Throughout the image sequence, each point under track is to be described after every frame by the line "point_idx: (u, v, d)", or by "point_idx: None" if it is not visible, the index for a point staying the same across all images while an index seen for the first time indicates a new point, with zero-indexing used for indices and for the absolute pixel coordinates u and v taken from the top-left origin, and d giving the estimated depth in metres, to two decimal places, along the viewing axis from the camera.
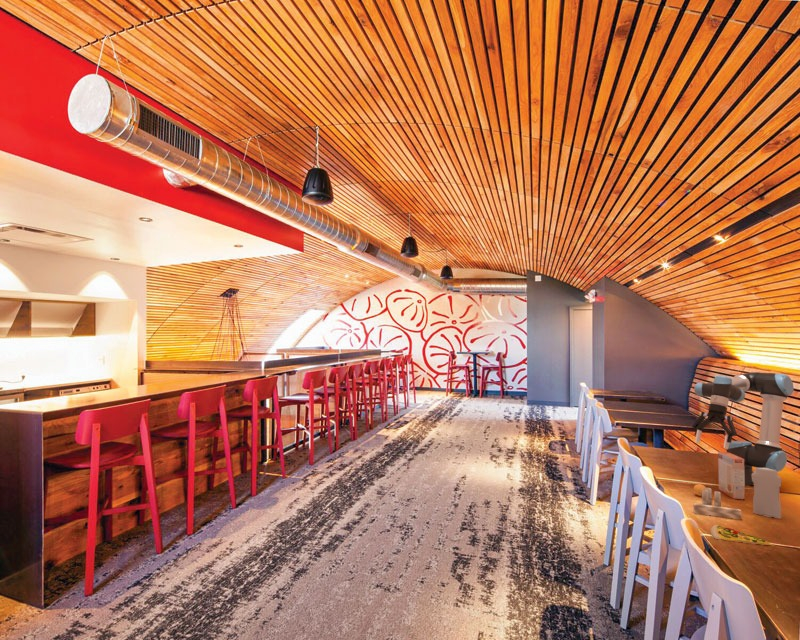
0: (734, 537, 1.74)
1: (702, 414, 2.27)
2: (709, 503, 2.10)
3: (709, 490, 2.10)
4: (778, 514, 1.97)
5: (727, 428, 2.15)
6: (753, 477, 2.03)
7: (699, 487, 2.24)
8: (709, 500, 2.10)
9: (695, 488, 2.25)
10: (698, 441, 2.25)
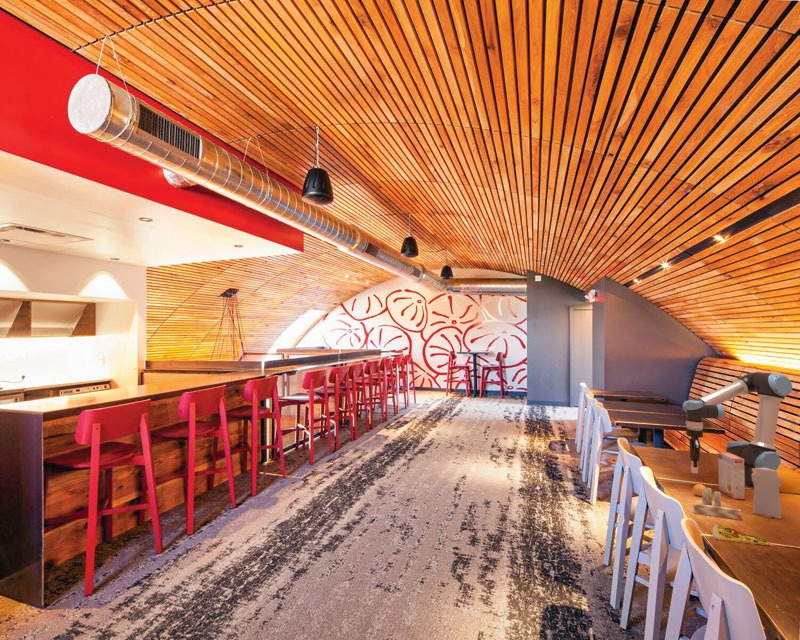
0: (735, 537, 1.73)
1: (689, 441, 2.40)
2: (709, 503, 2.10)
3: (709, 490, 2.10)
4: (778, 514, 1.97)
5: None
6: (753, 477, 2.03)
7: (699, 487, 2.24)
8: (709, 500, 2.10)
9: (695, 488, 2.25)
10: None
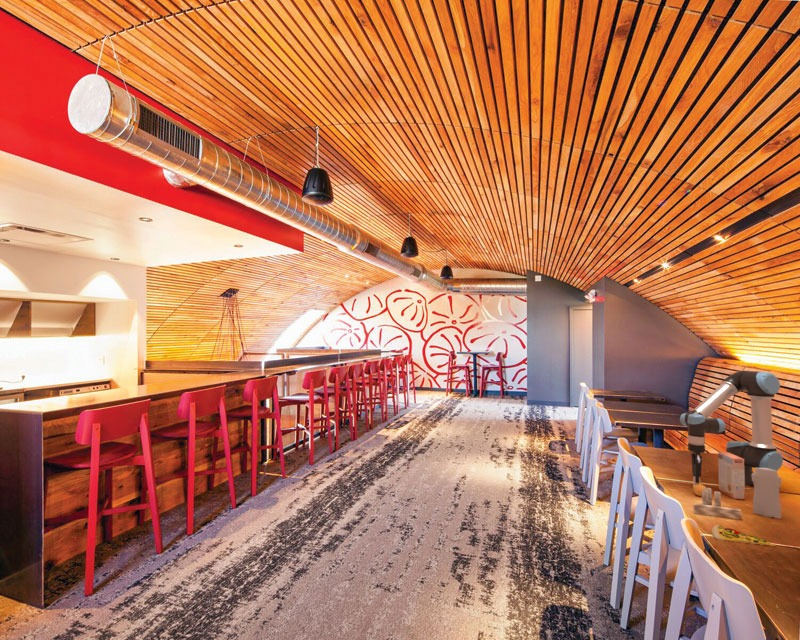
0: (735, 537, 1.73)
1: (691, 456, 2.35)
2: (709, 503, 2.10)
3: (709, 490, 2.10)
4: (778, 514, 1.97)
5: None
6: (753, 477, 2.03)
7: (699, 487, 2.24)
8: (709, 500, 2.10)
9: (695, 488, 2.25)
10: None
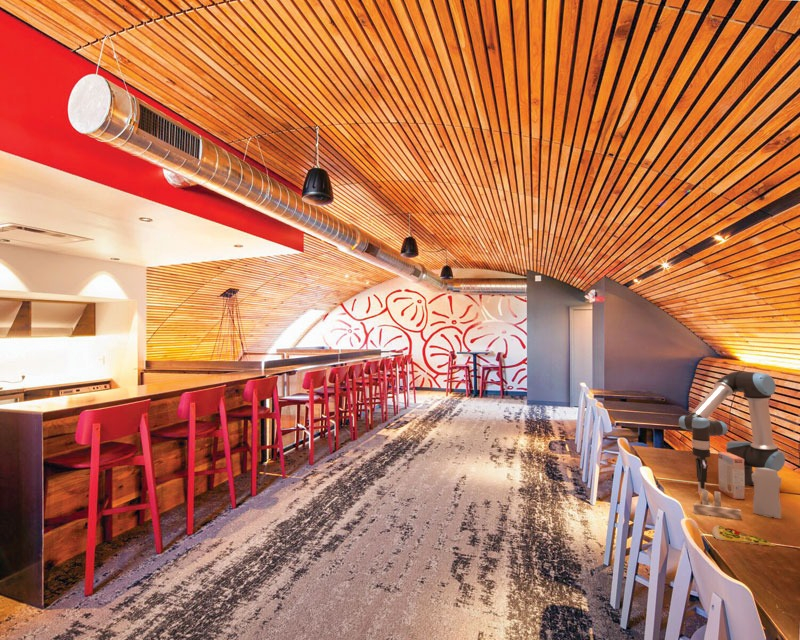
0: (736, 537, 1.73)
1: (696, 461, 2.28)
2: None
3: None
4: (778, 514, 1.97)
5: None
6: (753, 477, 2.03)
7: None
8: None
9: None
10: None
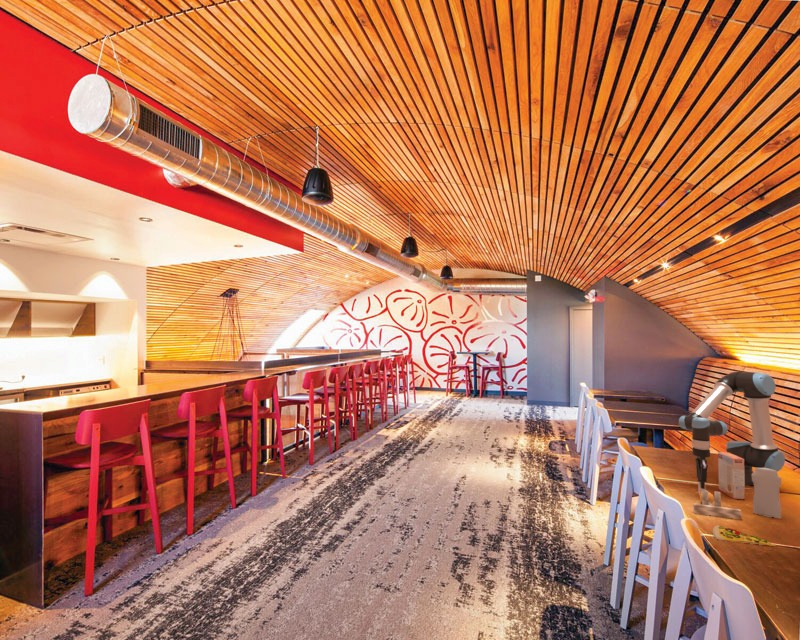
0: (736, 538, 1.73)
1: (696, 461, 2.28)
2: None
3: None
4: (778, 514, 1.97)
5: None
6: (753, 477, 2.03)
7: None
8: None
9: None
10: None
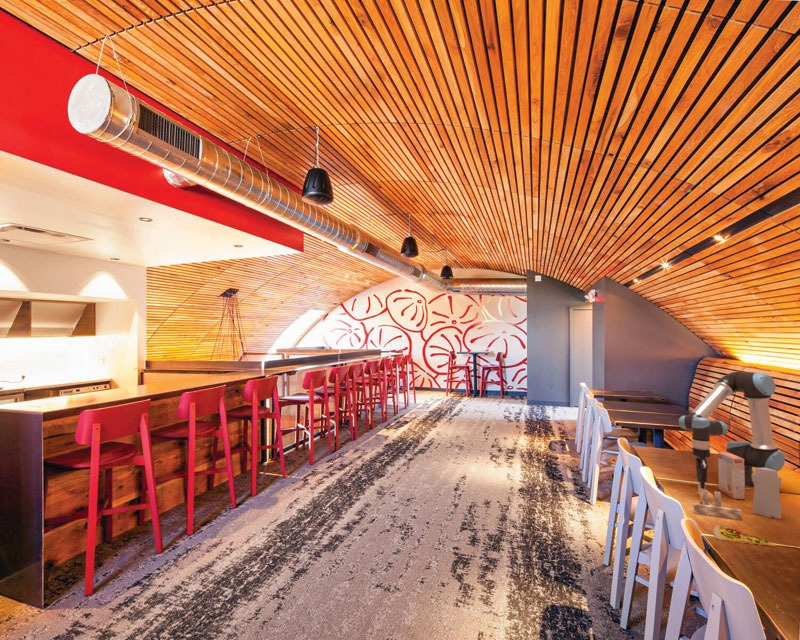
0: (737, 538, 1.73)
1: (696, 461, 2.28)
2: None
3: None
4: (778, 514, 1.97)
5: None
6: (753, 477, 2.03)
7: None
8: None
9: None
10: None
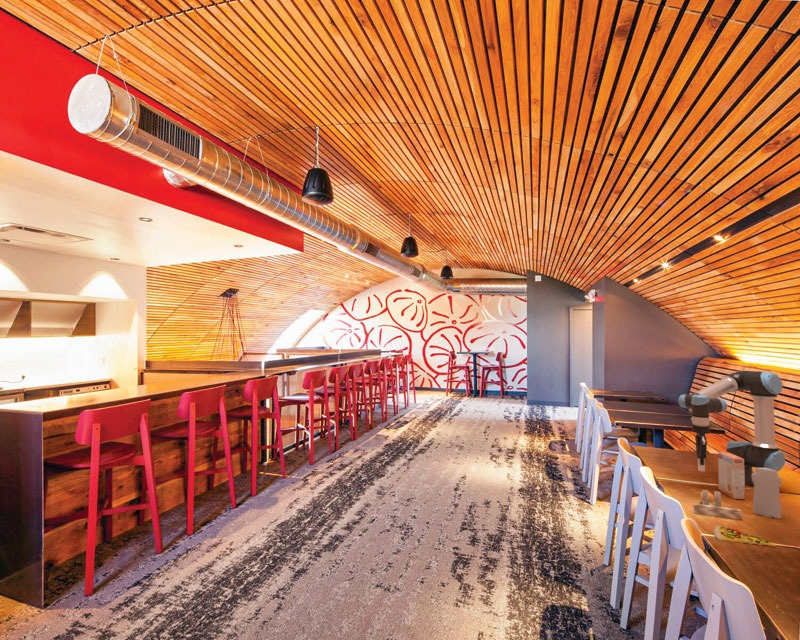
0: (737, 538, 1.73)
1: (695, 438, 2.29)
2: None
3: None
4: (778, 514, 1.97)
5: None
6: (753, 477, 2.03)
7: None
8: None
9: None
10: None
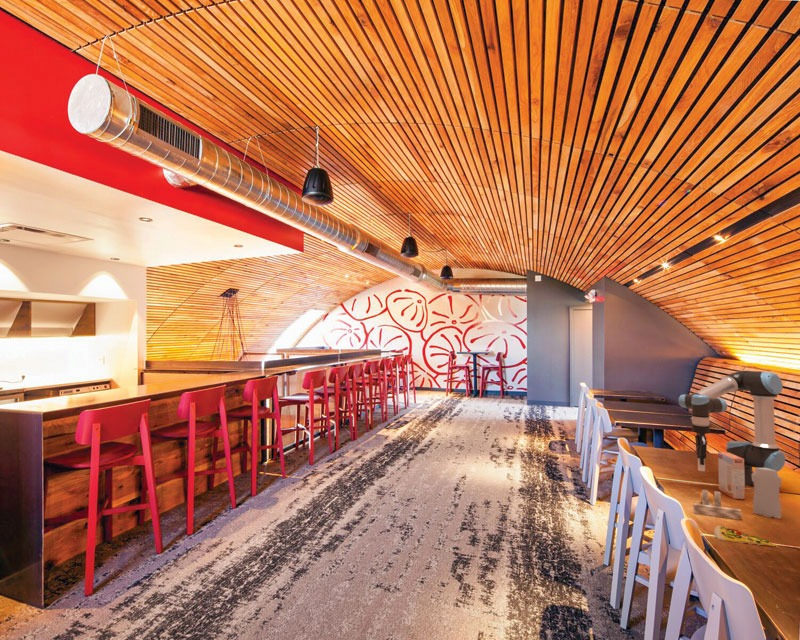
0: (737, 538, 1.73)
1: (695, 438, 2.29)
2: None
3: None
4: (778, 514, 1.97)
5: None
6: (753, 477, 2.03)
7: None
8: None
9: None
10: None
